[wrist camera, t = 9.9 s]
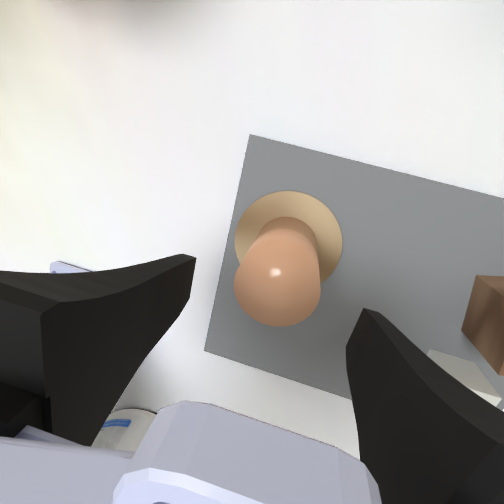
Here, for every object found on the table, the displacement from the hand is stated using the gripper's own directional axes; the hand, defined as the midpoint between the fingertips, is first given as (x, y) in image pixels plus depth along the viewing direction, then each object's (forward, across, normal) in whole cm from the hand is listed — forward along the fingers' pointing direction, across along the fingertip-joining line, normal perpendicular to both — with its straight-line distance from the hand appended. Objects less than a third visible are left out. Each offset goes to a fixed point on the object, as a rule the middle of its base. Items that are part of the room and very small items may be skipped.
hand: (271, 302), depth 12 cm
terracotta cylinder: (+7, 0, 0) cm, 7 cm away
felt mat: (+8, -7, +2) cm, 11 cm away
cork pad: (+8, 0, 0) cm, 8 cm away
